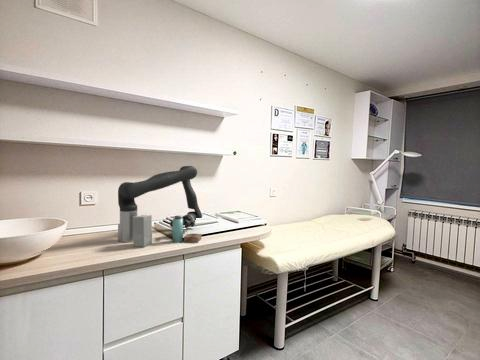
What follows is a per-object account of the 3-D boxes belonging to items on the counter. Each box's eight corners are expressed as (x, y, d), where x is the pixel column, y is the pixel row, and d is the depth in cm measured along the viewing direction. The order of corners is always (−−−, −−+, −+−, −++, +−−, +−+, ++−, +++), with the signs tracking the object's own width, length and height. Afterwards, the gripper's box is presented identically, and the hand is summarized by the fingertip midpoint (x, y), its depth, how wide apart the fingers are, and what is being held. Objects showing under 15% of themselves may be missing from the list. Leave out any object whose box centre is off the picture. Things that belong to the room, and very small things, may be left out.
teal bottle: (171, 242, 142) (171, 216, 141) (174, 239, 147) (175, 215, 147) (180, 242, 141) (181, 217, 141) (184, 240, 147) (184, 215, 146)
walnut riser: (183, 242, 143) (184, 236, 143) (188, 238, 151) (188, 233, 151) (197, 242, 142) (197, 237, 142) (201, 238, 150) (201, 233, 150)
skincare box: (144, 247, 131) (144, 217, 130) (131, 246, 132) (132, 216, 132) (152, 243, 139) (153, 214, 139) (141, 242, 140) (141, 214, 140)
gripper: (176, 214, 162) (167, 218, 146) (198, 215, 161) (191, 219, 145) (176, 225, 162) (166, 231, 146) (198, 226, 161) (190, 232, 145)
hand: (178, 225), depth 146 cm, fingers open, 8 cm apart
